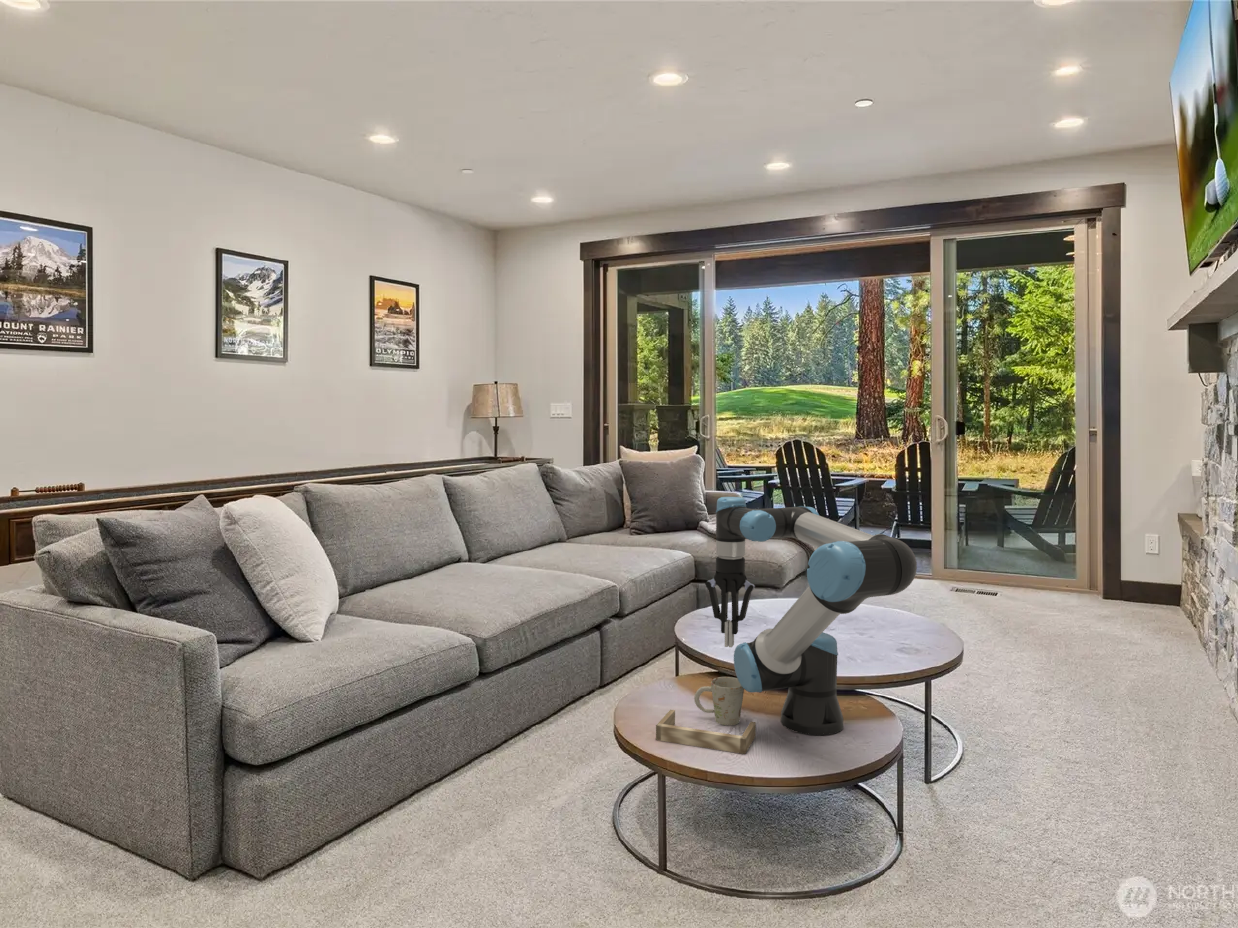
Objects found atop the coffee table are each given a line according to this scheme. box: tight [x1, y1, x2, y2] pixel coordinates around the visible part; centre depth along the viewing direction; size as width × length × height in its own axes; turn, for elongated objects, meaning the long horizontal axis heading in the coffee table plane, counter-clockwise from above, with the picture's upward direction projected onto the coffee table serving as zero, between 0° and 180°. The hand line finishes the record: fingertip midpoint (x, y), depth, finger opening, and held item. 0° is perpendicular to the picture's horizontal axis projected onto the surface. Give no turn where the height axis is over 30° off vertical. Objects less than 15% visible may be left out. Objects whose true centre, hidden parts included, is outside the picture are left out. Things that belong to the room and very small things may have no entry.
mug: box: [693, 676, 745, 726], centre depth 204 cm, size 8×13×10 cm, turn 78°
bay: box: [655, 709, 757, 755], centre depth 193 cm, size 21×11×4 cm, turn 68°
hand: (729, 645), depth 212 cm, fingers closed
